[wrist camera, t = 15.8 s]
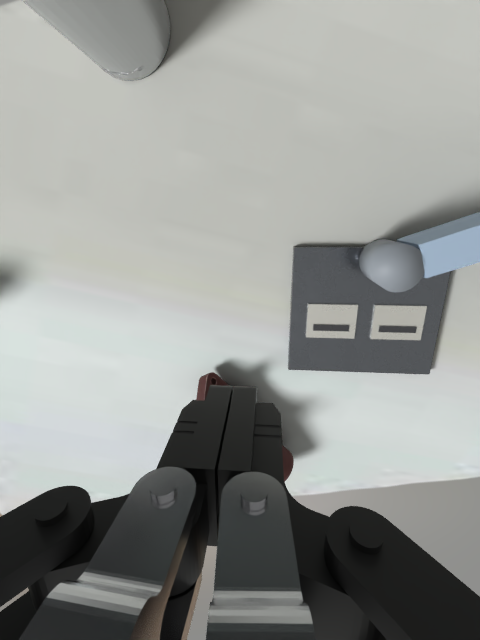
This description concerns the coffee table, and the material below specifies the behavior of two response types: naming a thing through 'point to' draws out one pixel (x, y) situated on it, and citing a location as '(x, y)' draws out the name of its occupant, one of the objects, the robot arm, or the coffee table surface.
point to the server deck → (359, 316)
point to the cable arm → (422, 254)
